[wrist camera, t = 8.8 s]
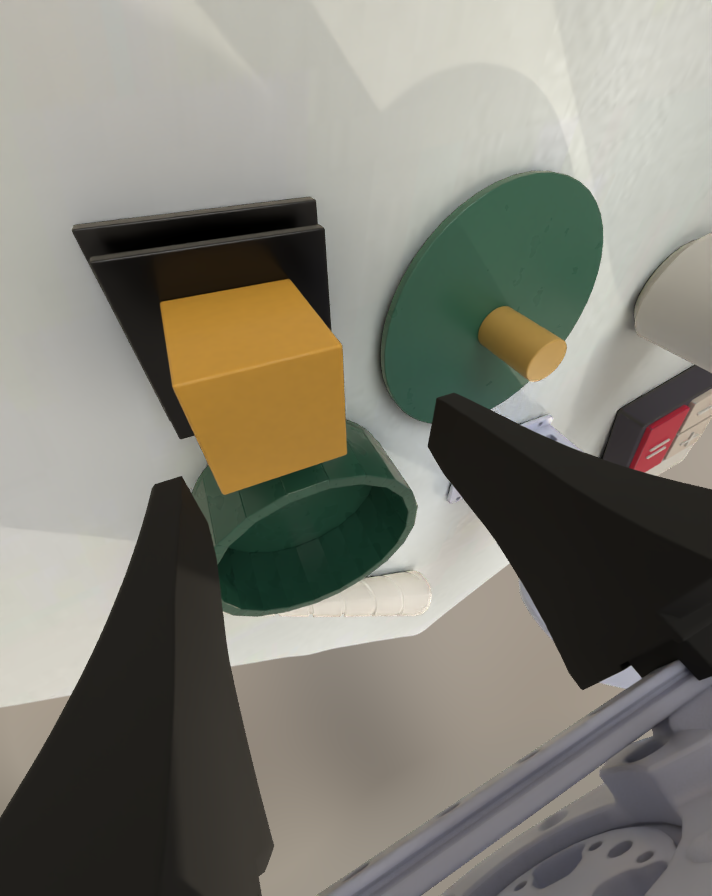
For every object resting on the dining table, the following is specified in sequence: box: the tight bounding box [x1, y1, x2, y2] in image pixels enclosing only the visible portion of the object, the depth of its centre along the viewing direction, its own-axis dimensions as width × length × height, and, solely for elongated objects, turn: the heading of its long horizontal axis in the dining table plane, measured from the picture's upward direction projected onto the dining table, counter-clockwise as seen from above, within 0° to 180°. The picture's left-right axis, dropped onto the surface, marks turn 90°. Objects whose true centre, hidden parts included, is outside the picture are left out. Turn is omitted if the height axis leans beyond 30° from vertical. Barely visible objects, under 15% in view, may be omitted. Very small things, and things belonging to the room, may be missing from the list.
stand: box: [72, 197, 331, 439], centre depth 15 cm, size 8×8×2 cm
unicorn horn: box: [223, 571, 432, 617], centre depth 36 cm, size 5×24×5 cm, turn 56°
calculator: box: [603, 365, 712, 476], centre depth 43 cm, size 11×4×15 cm
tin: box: [192, 420, 418, 617], centre depth 24 cm, size 13×13×5 cm
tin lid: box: [381, 171, 603, 423], centre depth 20 cm, size 14×14×5 cm
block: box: [160, 279, 347, 495], centre depth 12 cm, size 4×4×5 cm
